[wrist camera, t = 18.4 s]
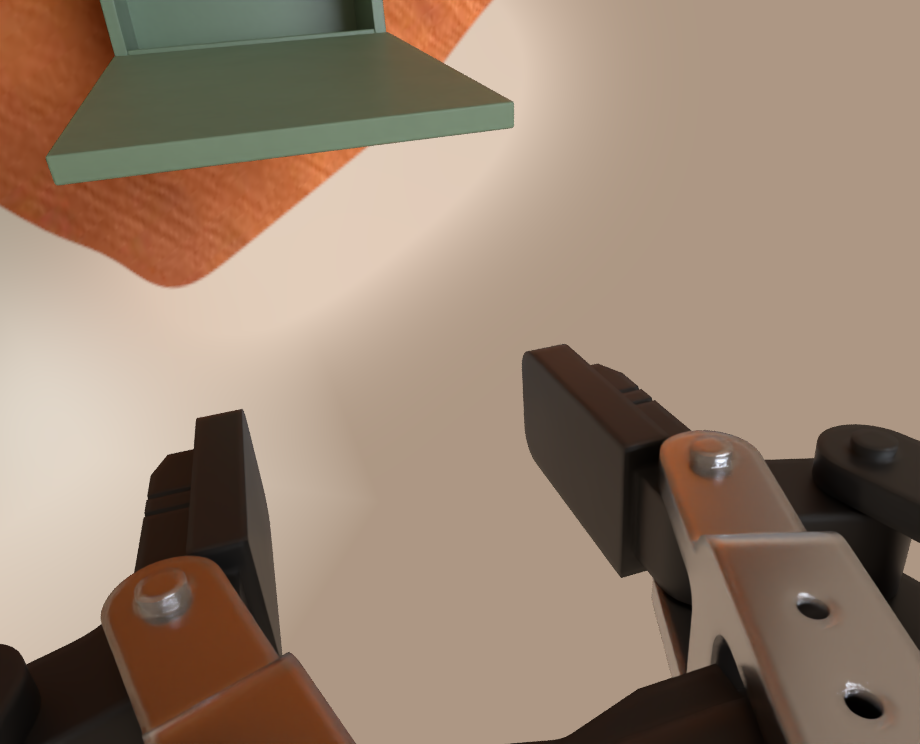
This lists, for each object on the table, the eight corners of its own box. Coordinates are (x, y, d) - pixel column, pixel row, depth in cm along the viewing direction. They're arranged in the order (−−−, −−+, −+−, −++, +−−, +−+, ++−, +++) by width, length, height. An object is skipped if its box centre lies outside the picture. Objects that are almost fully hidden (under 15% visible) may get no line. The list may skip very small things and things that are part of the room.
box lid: (43, 156, 19) (55, 186, 19) (514, 101, 22) (514, 128, 22) (113, 56, 33) (118, 74, 34) (388, 31, 36) (389, 48, 37)
